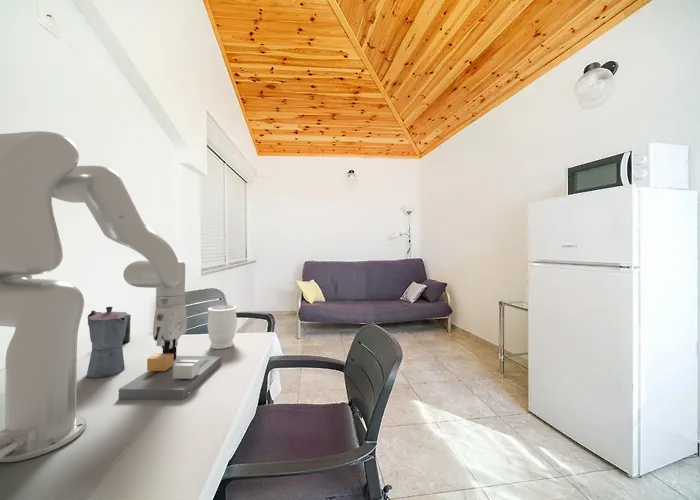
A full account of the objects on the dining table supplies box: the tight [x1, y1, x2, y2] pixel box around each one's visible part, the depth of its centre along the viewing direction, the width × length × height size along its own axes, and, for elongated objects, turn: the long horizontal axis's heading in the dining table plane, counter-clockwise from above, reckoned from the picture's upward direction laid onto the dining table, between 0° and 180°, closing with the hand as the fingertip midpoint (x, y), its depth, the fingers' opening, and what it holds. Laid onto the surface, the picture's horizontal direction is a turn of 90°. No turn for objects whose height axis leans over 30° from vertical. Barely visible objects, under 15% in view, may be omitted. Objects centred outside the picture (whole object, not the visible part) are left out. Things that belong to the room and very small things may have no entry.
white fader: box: [173, 360, 200, 379], centre depth 78 cm, size 4×5×4 cm
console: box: [118, 355, 222, 401], centre depth 82 cm, size 22×16×3 cm
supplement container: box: [122, 313, 132, 345], centre depth 111 cm, size 7×7×10 cm
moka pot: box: [86, 306, 130, 379], centre depth 85 cm, size 10×15×20 cm, turn 78°
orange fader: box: [146, 352, 174, 372], centre depth 82 cm, size 4×5×4 cm
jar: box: [207, 304, 238, 350], centre depth 110 cm, size 11×10×15 cm
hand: (169, 360), depth 86 cm, fingers closed
